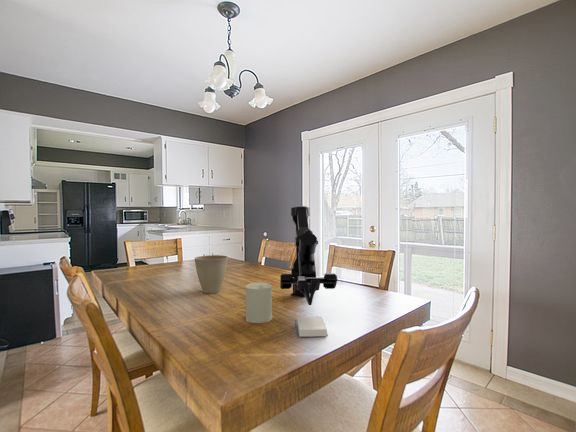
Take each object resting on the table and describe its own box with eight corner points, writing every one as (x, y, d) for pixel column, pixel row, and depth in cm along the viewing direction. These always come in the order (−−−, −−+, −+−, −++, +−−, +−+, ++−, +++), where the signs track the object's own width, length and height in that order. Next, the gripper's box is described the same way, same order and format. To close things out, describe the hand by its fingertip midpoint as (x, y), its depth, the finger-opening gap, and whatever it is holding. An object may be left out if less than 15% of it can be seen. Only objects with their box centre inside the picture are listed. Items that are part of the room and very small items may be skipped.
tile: (297, 317, 94) (299, 329, 84) (321, 316, 94) (326, 329, 84) (297, 324, 94) (299, 337, 84) (321, 323, 94) (326, 337, 84)
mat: (294, 321, 98) (294, 320, 98) (321, 320, 98) (321, 319, 98) (297, 338, 85) (297, 336, 85) (328, 337, 85) (328, 336, 85)
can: (251, 326, 94) (250, 289, 93) (241, 317, 102) (241, 282, 102) (276, 321, 98) (276, 285, 98) (266, 312, 106) (266, 280, 106)
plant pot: (234, 290, 136) (234, 256, 136) (210, 298, 124) (210, 260, 124) (212, 285, 144) (212, 253, 144) (187, 293, 132) (187, 258, 132)
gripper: (330, 275, 108) (335, 315, 98) (280, 276, 108) (280, 316, 97) (334, 258, 100) (341, 299, 90) (280, 258, 100) (280, 300, 89)
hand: (310, 304), depth 91 cm, fingers closed
